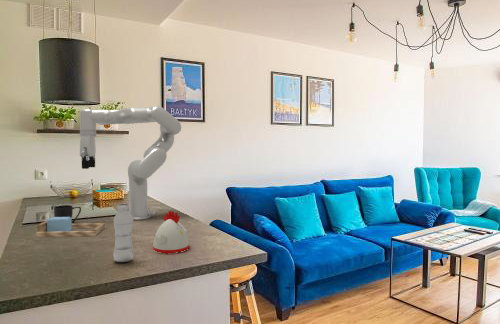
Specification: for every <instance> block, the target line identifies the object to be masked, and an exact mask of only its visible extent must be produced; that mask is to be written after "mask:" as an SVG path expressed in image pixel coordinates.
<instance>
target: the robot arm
mask: <svg viewBox="0 0 500 324" xmlns="http://www.w3.org/2000/svg"><path fill="white" fill-rule="evenodd" d="M146 123H147V124H148V123H157V124H159V129H160V130H159V131H160V132H159V133H160V134H159V137H158V138H157V139H156V141H155V142H154V143H153V144H151V146H149V147H148V148H147V149H146V150H145V151H144V153H143V158H142V159H141V160H140V159H135V160H133V161H131V162H130V163H129V165H128V168H127V173H128V174H127V177H128V187H129V188H128V189H129V190H128V191H129V192H128V199H129V201H128V204H129V210H128V212H129V213H130V214H131V215H132V217H133V221H140V220H147V219H150V218H151V215H154V216H155V215H156V210H149V209H150V208H148V179H149V178H150V177H151V176H152V175H153V174H155V173H156V172H157V170H159V169H160V168H161V166H163V165H164V164H165V162H166V160H167V156H168V155H167V152H169V150H170V149H171V148H172V146H173V145H174V144H175V135H178V134H179V133H180V132H181V131H182V125H181V122H180V121H179V119H177V118H176V117H175V116H173V115H172V114H171V113H170V112H168V111H167V110H166V109H165V108H163V107H162V106H159V105H154V106H145V107H144V106H142V107H128V108H122V109H111V110H110V109H109V110H108V109H90V108H83V109H82V108H81V109H80V110H79V137H80V140H79V156H80V157H81V169H84V170H88V169H90V168H95V167H96V153H97V152H96V137H97V125H99V126H100V125H101V126H104V125H107V126H108V125H121V124H123V125H124V124H125V125H129V124H130V125H131V124H134V125H135V124H146Z"/></svg>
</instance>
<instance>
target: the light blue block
mask: <svg viewBox="0 0 500 324" xmlns="http://www.w3.org/2000/svg"><path fill="white" fill-rule="evenodd" d="M72 219H73V217H72V218H71V217H54V216H53V217H50V218H48V219H47V220H46V221H47V232H57V231H73V230H72V224H73V223H72V221H73V220H72Z"/></svg>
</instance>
